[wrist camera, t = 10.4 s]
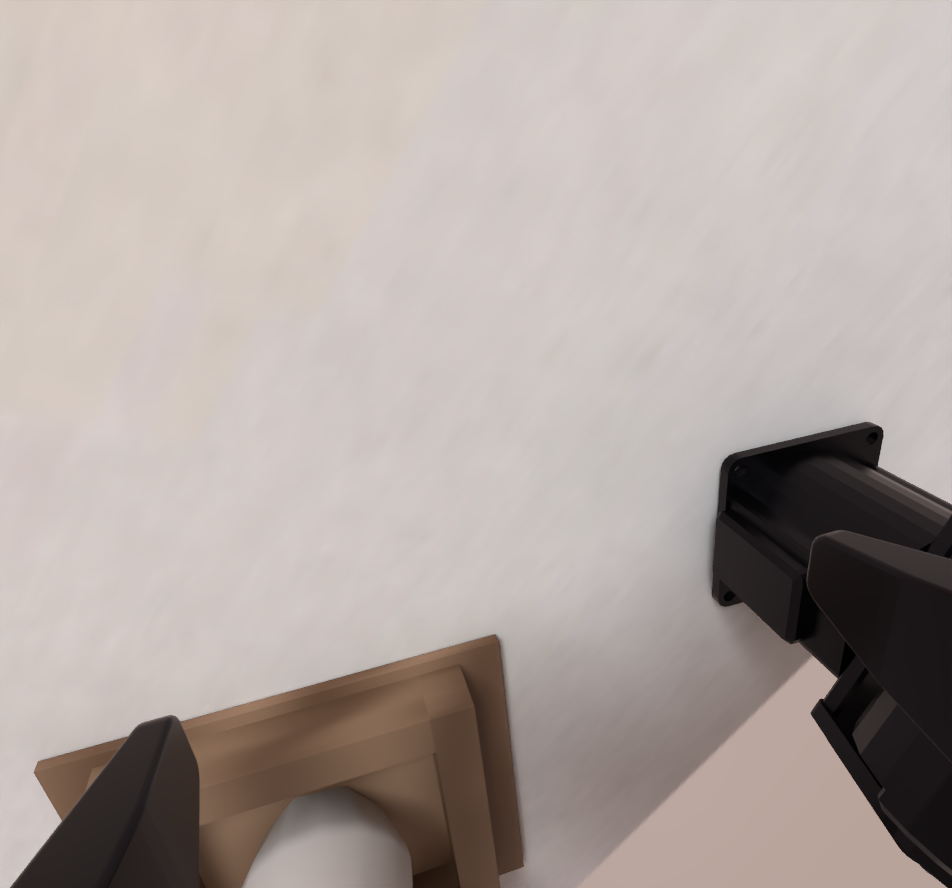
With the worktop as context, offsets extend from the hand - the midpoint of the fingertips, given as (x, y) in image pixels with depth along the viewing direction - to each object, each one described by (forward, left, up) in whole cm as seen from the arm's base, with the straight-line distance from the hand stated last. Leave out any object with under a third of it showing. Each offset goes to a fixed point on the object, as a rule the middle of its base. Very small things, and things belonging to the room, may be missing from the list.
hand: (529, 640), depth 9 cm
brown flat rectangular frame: (+6, +16, -11) cm, 20 cm away
